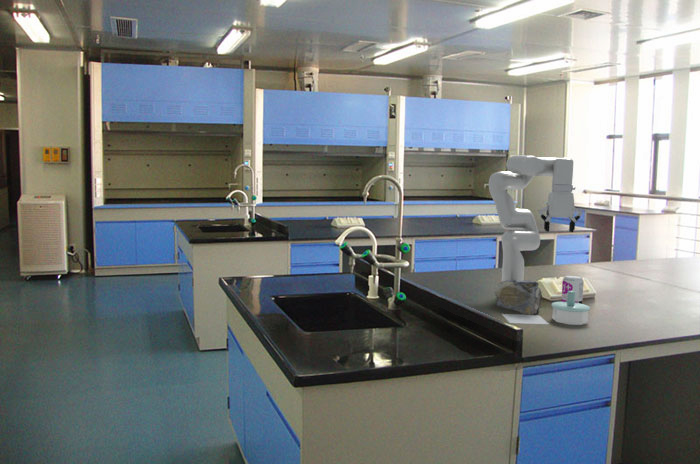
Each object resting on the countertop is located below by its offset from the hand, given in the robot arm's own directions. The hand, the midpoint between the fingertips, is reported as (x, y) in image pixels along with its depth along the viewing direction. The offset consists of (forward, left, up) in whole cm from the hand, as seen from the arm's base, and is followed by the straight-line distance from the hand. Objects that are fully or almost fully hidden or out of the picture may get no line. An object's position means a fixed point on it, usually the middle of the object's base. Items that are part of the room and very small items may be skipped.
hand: (559, 231), depth 234 cm
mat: (+10, -14, -34) cm, 39 cm away
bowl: (+10, +3, -34) cm, 36 cm away
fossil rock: (-8, -13, -35) cm, 38 cm away
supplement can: (-6, +9, -34) cm, 36 cm away
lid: (+10, +3, -29) cm, 31 cm away
